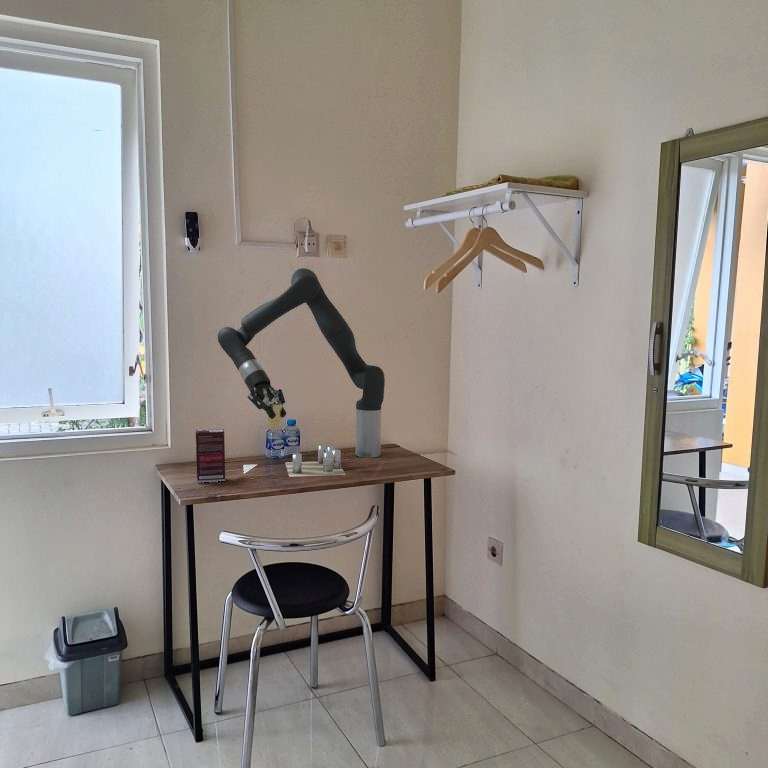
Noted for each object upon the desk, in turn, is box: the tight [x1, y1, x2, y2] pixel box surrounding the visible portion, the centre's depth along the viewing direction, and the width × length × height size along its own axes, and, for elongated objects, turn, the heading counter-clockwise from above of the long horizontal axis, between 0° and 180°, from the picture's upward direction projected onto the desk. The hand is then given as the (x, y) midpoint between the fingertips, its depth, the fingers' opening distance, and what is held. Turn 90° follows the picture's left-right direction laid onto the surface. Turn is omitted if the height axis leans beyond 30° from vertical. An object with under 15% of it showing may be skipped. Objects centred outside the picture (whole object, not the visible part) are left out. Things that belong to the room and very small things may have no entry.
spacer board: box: [284, 461, 347, 478], centre depth 230 cm, size 20×18×1 cm
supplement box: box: [195, 428, 226, 484], centre depth 215 cm, size 9×5×16 cm, turn 105°
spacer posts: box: [292, 443, 342, 474], centre depth 231 cm, size 16×16×6 cm
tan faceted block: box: [267, 402, 283, 431], centre depth 227 cm, size 5×4×8 cm
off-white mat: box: [242, 463, 259, 475], centre depth 229 cm, size 18×10×1 cm, turn 12°
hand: (279, 416), depth 225 cm, fingers closed on tan faceted block, 4 cm apart
